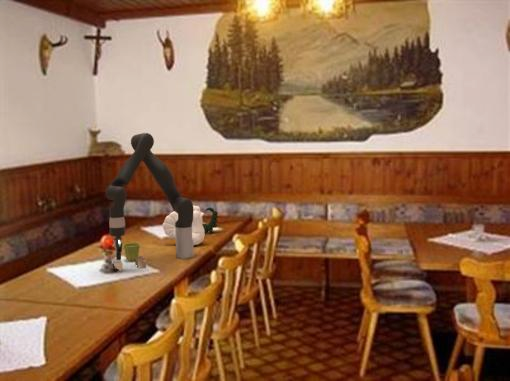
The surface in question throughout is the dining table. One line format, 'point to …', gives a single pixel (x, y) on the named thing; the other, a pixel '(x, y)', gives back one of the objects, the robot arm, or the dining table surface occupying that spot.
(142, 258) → the walnut block
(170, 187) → the robot arm
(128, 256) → the plant pot
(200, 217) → the decorative rooster
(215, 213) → the toy figurine
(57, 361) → the dining table surface
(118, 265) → the slate-grey block
